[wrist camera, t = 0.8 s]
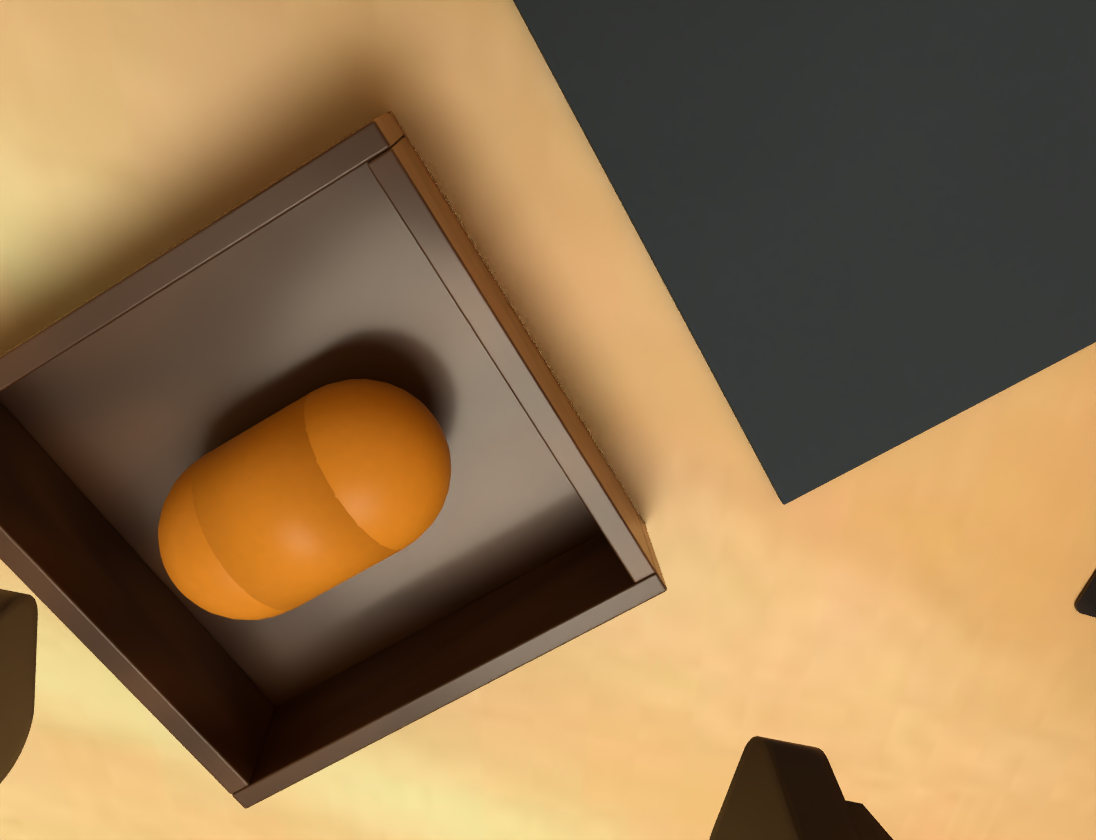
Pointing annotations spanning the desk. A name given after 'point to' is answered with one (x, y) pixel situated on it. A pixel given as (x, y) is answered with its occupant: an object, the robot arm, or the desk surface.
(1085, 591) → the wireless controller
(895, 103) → the desk pad
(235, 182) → the desk surface
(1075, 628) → the desk surface
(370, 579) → the wooden tray
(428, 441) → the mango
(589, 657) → the desk surface
